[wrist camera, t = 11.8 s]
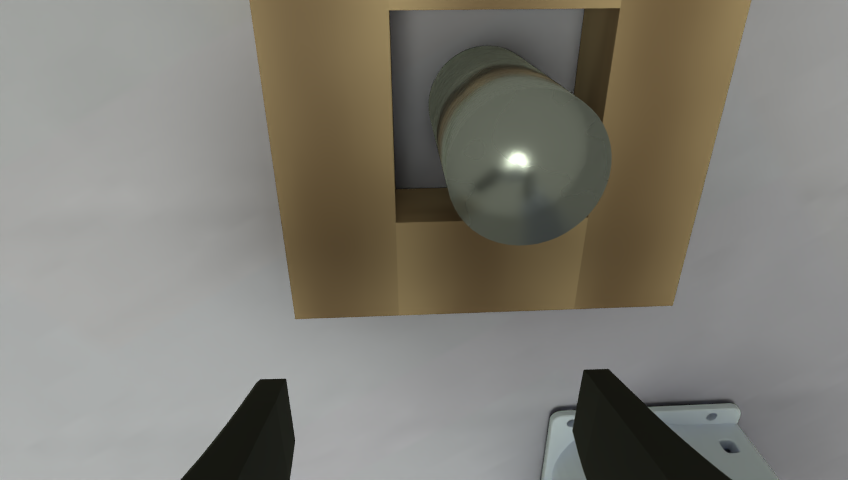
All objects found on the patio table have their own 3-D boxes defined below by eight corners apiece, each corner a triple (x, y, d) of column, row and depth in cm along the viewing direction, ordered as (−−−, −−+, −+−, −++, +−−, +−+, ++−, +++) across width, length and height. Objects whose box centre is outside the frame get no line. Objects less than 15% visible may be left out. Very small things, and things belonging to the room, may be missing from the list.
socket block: (724, -136, 16) (791, -156, 13) (639, 265, 22) (672, 305, 20) (254, -138, 15) (226, -159, 13) (307, 275, 22) (295, 319, 19)
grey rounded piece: (547, 48, 18) (628, 91, 12) (530, 159, 20) (593, 247, 14) (431, 42, 18) (453, 83, 12) (425, 156, 20) (440, 243, 13)
